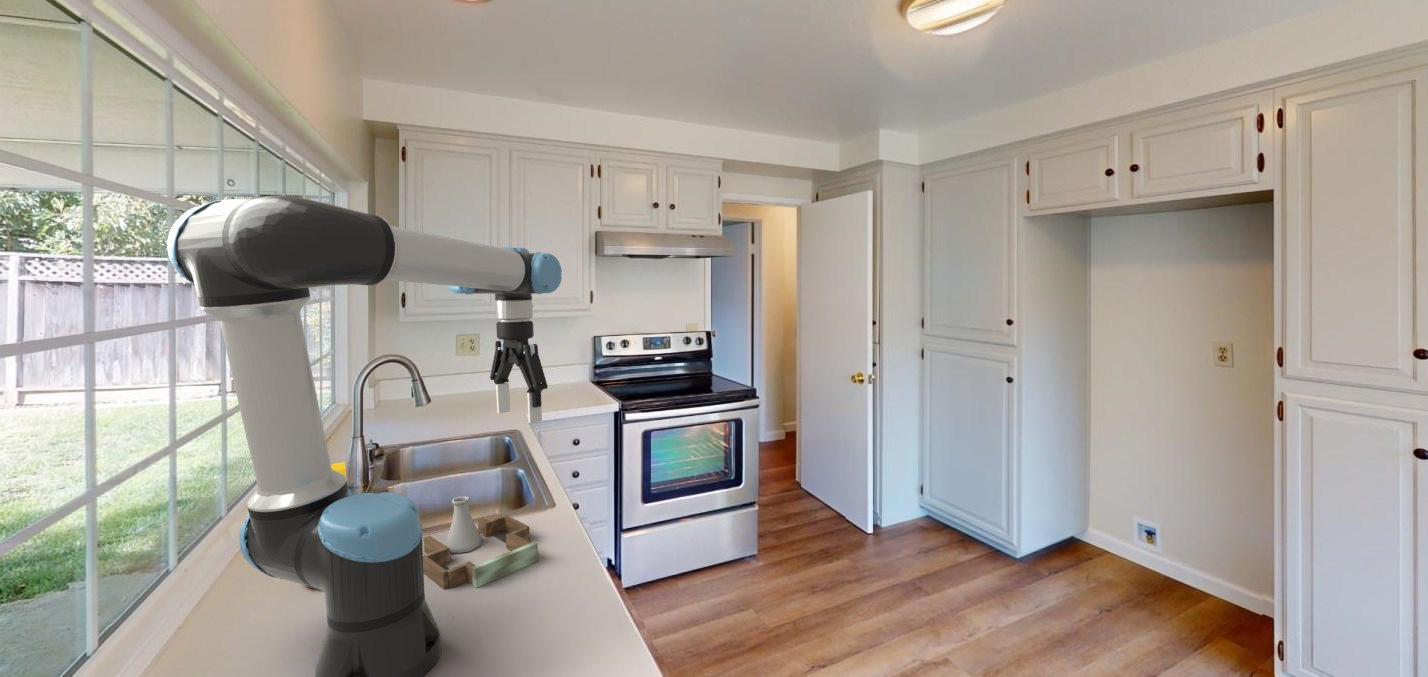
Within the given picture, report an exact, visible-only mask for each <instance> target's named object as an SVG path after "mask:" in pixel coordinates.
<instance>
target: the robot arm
mask: <svg viewBox="0 0 1428 677" xmlns="http://www.w3.org/2000/svg"><path fill="white" fill-rule="evenodd" d="M166 244H167V246H166V247H167V254H168V257H169V260H170V262H171V264H172V266H173V267H174V269H175V270H176V272H178V274H180V276H182V277H183V278H184V279H185V280H187V281H188V282H190V283H192V284H193V285H194V287H195V288H194V289H195V291H196V295H197V296H196V297H197V300H198V303H199V308H200V310H202V311H203V312H205V313H207V314H209V315H211V316H213V317H215V318H216V319H217V321H219V325H220V329H221V333H222V337H223V338H222V339H223V341H224V346H225V350H226V351H225V352H226V354H227V359H228V363H229V368H230V373H231V376H232V380H233V386H234V390H235V394H236V397H237V398H236V399H237V402H238V406H239V411H240V415H241V420H242V424H243V428H244V433H245V437H246V441H247V446H248V449H249V455H250V459H251V463H252V467H253V472H254V476H255V481H256V483H257V484H256V485H257V488H256V490H255V491H254V492H253V493H252V495H251V496H250V497H249V498H248V499H247V502H246V503H247V504H246V505H247V506H246V507H247V510H248V513H247V515H246V520H245V522H243V523H242V524H241V527H240V530H239V537H238V544H239V549H240V552H241V554H242V557H243V559H244V560H245V561H246V562H247V563H248V564H249V565H250V566H251V567H252V568H254V569H256V570H258V571H259V572H261V573H263V574H264V575H266V576H268V577H271V578H276V579H280V580H285V581H289V582H291V583H292V582H293V583H295V584H299V585H303V586H306V587H308V586H309V587H308V588H310V587H313V588H312V589H317V590H319V591H323V593H324V599H325V608H326V609H325V610H326V621H327V628H326V632H325V635H324V639H323V641H322V646H321V649H320V653H319V654H318V659H317V662H316V666H315V672H314V673H315V674H314V677H424V676H425V675H427V673H428V672H429V671H431V669H432V668H434V666H435V665H436V663H437V662H438V660H439V659H440V656H441V654H442V649H443V648H442V635H441V630H440V628H439V625H438V623H437V622H436V620H435V618H434V617H435V616H433V613H432V611H431V609H430V607H429V605H428V603H427V600H426V594H425V575H424V571H423V556H424V555H423V554H424V553H423V552H424V551H423V549H424V548H423V526H422V522H421V517H420V512H419V508H418V506H417V505H416V503H415V502H414V501H413V500H412V499H411V498H409V497H407V496H406V495H405V496H404V495H402V494H397V493H395V492H385V491H381V492H379V493H374V492H373V491H372V492H365V493H358V494H357V493H356V494H352V495H350V492H349V486H348V480H347V481H346V478H347V476H346V477H345V475H343V474H341V473H339V472H337V471H334V470H333V469H332V468H331V464H332V463H331V461H330V460H331V459H330V454H329V450H328V449H329V448H328V446H327V441H326V435H325V431H324V430H325V429H324V425H323V421H322V420H323V419H322V416H321V415H322V414H321V411H320V405H319V401H318V400H319V399H318V396H317V391H316V386H315V380H314V376H313V372H312V371H313V370H312V366H311V361H310V356H309V351H308V346H307V341H306V335H305V330H304V326H303V321H302V316H301V310H302V309H303V308H304V307H305V305H306V304H307V303H308V302H309V301H310V299H311V293H310V288H317V287H326V286H345V285H350V286H351V285H357V286H358V285H359V286H377V285H380V284H382V283H383V282H384V281H393V282H394V281H396V282H406V283H417V284H427V285H428V284H429V285H436V286H437V285H438V286H439V285H440V286H446V287H447V288H448V289H449V290H450V291H452V292H453V293H455V294H461V295H473V294H474V295H475V294H480V295H481V294H485V295H486V294H489V295H490V294H494V306H495V308H494V309H495V319H497V320H498V321H497V322H496V324H495V325H496V326H495V327H496V338H497V339H498V340H496V341H495V345H494V346H495V350H494V351H495V352H494V356H493V361H492V366H491V371H490V375H489V380H490V381H493V382H494V384H495V391H496V392H495V394H496V411H497V414H504V413H508V412H511V401H510V400H511V398H510V380H509V376H510V374H511V372H512V369H513V368H514V365H515V366H516V367H518V368H519V370H520V372H521V374H522V378H524V381H525V383H526V385H527V388H528V389H527V390H526V393H527V394H526V395H527V396H526V397H527V421H528V423H529V424H533V423H537V422H538V423H539V422H542V421H543V418H542V417H543V414H542V413H543V412H542V391H543V390H547V389H548V383H547V379H546V377H545V373H544V369H543V366H542V362H541V359H540V356H539V347H538V344H537V343H532V344H529V339H532V338H534V335H535V334H534V333H535V332H534V331H535V330H534V322H533V321H532V320H531V319H532V318H533V314H534V312H533V308H534V304H533V295H535V294H536V295H537V294H538V295H542V294H550V293H554V292H555V291H556V290H557V289H558V288H559V287H560V285H561V284H562V283H561V282H562V280H563V279H562V267H561V263H560V261H559V259H558V258H557V257H556V256H555V255H553V254H552V253H548V252H546V253H545V252H540V251H537V252H534V253H533V252H530V251H529V250H528V249H526V248H524V247H511V246H510V247H502V246H501V247H500V246H499V247H497V246H493V245H488V244H484V243H478V242H472V241H468V240H464V239H459V238H454V237H448V236H444V235H438V234H433V233H430V232H429V233H427V232H424V231H423V232H422V231H418V230H414V229H412V230H411V229H409V228H404V227H403V228H402V227H397V226H392V225H391V224H390V223H389V222H388V221H387V219H385V218H383V217H382V216H379V215H376V214H370V213H366V212H362V211H358V210H354V209H350V208H346V207H343V206H337V205H334V204H330V203H325V202H321V201H317V200H314V199H313V200H312V199H308V198H304V197H297V196H289V195H288V196H286V195H280V194H279V195H277V194H276V195H267V196H260V197H248V198H247V197H246V198H234V199H231V198H230V199H221V200H219V199H218V200H214V201H212V202H207V203H205V204H201V205H197V206H195V207H192V208H190V209H189V210H187V211H185V212H184V213H183V214H182V215H181V216H180V217H179V218H178V219H177V220H175V222H173V225H172V226H171V228H170V231H169V233H168V238H167V243H166Z"/></svg>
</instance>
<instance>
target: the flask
mask: <svg viewBox="0 0 1428 677" xmlns="http://www.w3.org/2000/svg"><path fill="white" fill-rule="evenodd" d="M470 498H471V497H469V496H457V497H455V498H453V499H452V501H451V504H452V505H453V516H452V520H451V525H450V528H449V530H448V535H447V536H446V540H445V544H444V545H445V546H447V547H448V548H449V552H450V553H451V554H460V553H469V552H471V551H473V550H475V549H476V548H478V547H480V546H481V544H482V542H483V536H482V534H480V533H479V531H478V526H477V525H476V524H475V522H474V519H473V517H472V515H471V511H470V508H469V507H470V506H469V501H470Z"/></svg>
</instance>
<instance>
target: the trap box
mask: <svg viewBox="0 0 1428 677" xmlns="http://www.w3.org/2000/svg"><path fill="white" fill-rule="evenodd" d="M477 529H478V531H479V533H480V535H481V536H484V537H485V538H487V537H488V538H489V537H491V536H493V537H494V538H496V539H498V540H500V541H501V542H503V543H504V544H505V546H506V547H505V548H506V549H507V550H508V552H505V553H503V554H501V555H498V556H495V557H493V558H491V559H487V560H485V561H483V562H481V563H478V564H475V563H474V562H471V561H466V562H465V563H464V562H463V563H461V564H459V565H457V566H454V567H450V568H449V567H448V566H447V565H448V564H451V556H450V555H451V554H450V552H449V548H448V547H447V546H445V544H443V543H442V542H440V541H439V540H438V539H436V538H434V536H433V537H432V536H431V535H427V536H424V537H423V549H424V551H423V552H424V553H425V554H424V555H423V571H424V576H426V577H427V578H428V579H429V580H431V581H432V582H434V583H435V584H436V585H437V586H439V587H440V588H442V590H446V589H448V588H449V589H451V588H454V587H457V586H459V585H461V584H463V583H466V582H467V583H468V584H470V585H471V586H473V587H474V588H476V589H477V588H479V587H482V586H484V585H486V584H489V583H490V582H493V581H495V580H496V581H497V580H498V579H500V578H502V577H504V576H507V575H509V574H511V573H513V572H516V571H518V570H520V569H522V568H523V569H524V568H525V567H527V566H530V565H532V564H535V563H537V562H539V549H538V548H539V547H538V543H537V542H536V541H532V542H531V541H530V540H531V536H530V525H527V524H525V523H523V522H521V521H519V520H517V519H515V518H513V517H511V516H508V514H507V515H504V516H503V515H500V516H498V517H495V518H492V519H487V518H485V517H479V518H478V519H477Z"/></svg>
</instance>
